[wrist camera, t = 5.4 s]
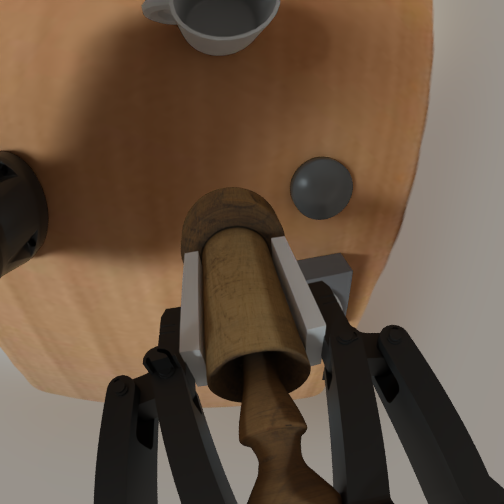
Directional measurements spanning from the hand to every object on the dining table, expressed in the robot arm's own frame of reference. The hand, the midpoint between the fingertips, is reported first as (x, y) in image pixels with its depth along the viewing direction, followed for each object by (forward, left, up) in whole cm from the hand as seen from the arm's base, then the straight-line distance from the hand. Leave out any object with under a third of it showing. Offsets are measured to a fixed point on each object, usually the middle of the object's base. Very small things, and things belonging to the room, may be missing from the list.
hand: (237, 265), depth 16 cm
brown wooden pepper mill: (0, 0, -4) cm, 4 cm away
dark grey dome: (+10, -2, -15) cm, 18 cm away
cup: (0, +17, -15) cm, 23 cm away
